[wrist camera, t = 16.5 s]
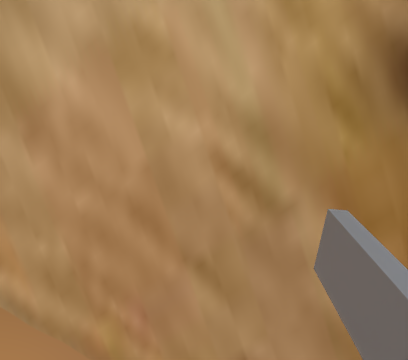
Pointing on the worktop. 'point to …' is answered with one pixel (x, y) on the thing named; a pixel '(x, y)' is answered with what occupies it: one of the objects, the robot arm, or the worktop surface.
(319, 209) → the worktop surface
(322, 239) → the robot arm
